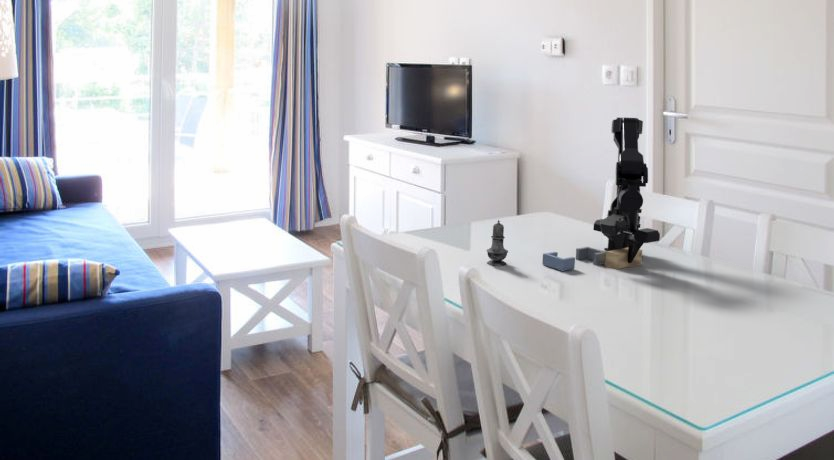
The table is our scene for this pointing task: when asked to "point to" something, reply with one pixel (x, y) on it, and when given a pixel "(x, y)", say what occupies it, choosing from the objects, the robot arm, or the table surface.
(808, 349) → the table surface
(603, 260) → the grey u channel
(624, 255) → the slat
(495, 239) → the salt shaker
